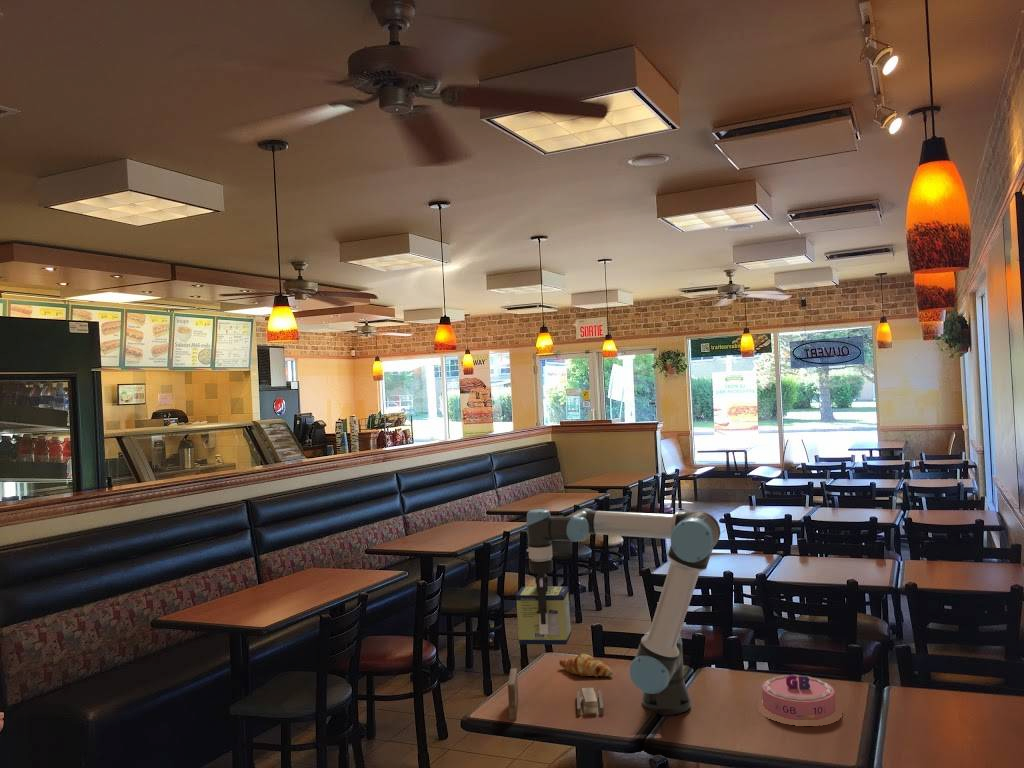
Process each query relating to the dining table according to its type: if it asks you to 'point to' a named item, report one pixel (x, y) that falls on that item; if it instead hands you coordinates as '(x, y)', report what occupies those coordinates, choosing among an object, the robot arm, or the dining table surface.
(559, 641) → the protein box
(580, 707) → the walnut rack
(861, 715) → the dining table surface
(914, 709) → the dining table surface
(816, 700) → the cake
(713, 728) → the dining table surface
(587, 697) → the offcut stack
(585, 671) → the croissant
